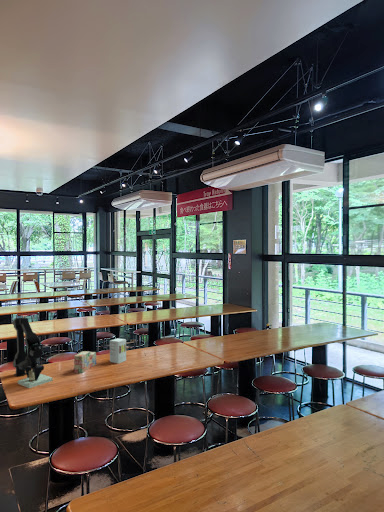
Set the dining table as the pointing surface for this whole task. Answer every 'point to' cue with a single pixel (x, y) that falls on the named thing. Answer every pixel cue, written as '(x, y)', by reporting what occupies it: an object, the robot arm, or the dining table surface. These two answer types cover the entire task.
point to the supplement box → (118, 350)
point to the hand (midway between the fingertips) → (32, 379)
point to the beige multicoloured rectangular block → (84, 361)
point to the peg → (31, 376)
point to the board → (40, 380)
